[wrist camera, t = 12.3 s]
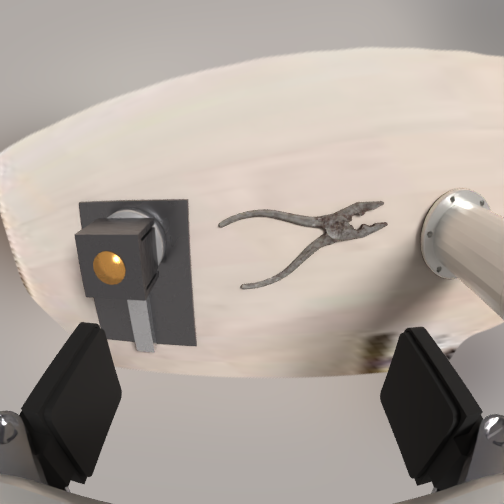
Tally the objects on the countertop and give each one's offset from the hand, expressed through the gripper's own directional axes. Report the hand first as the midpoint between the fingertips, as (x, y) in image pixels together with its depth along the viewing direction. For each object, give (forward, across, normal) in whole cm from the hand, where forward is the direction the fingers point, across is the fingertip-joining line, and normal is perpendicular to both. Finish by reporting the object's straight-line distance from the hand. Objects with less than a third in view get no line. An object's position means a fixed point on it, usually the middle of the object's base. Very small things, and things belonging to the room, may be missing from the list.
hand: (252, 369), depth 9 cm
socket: (+26, +14, +6) cm, 30 cm away
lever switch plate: (+28, +14, +11) cm, 34 cm away
